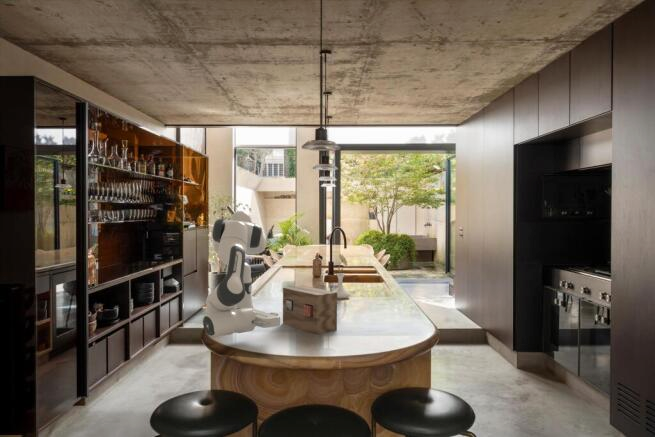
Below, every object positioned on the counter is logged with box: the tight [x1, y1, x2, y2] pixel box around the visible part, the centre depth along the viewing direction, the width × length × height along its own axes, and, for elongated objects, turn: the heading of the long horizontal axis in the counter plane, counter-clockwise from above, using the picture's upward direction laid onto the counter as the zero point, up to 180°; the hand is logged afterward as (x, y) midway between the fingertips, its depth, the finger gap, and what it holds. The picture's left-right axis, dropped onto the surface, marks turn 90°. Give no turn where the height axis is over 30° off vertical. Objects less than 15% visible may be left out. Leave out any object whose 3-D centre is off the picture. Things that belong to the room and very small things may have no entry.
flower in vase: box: [332, 253, 351, 300], centre depth 289 cm, size 13×11×25 cm
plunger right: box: [304, 305, 313, 317], centre depth 212 cm, size 8×4×4 cm, turn 130°
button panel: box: [282, 285, 338, 335], centre depth 219 cm, size 11×24×16 cm, turn 40°
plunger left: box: [286, 300, 293, 311], centre depth 223 cm, size 8×4×4 cm, turn 130°
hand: (276, 315), depth 200 cm, fingers closed
